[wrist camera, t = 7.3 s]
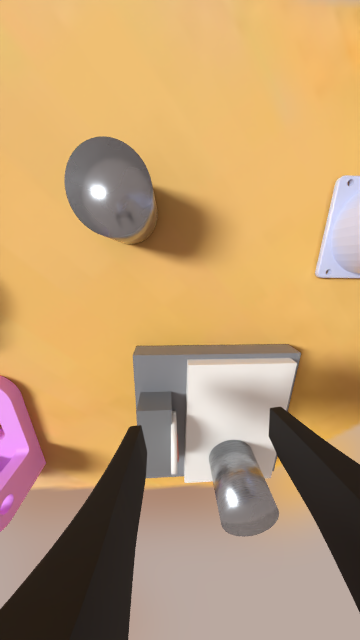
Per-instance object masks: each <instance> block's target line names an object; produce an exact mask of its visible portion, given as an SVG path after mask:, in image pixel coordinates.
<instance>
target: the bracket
mask: <svg viewBox="0 0 360 640" xmlns="http://www.w3.org/2000/svg"><path fill="white" fill-rule="evenodd" d="M0 424H1V426H2V428H3V429H1V428H0V532H1V531H2V530H3V529H4V528H5V527H6V526H7V525H8V523H9V522H10V521H11V519H12V518H13V516H14V515H15V513H16V512H17V510H18V508H19V507H20V505H21V503H22V502H23V500H24V499H25V497H26V495H27V493H28V492H29V490H30V489H31V487H32V485H33V484H34V482H35V481H36V479H37V477H38V476H39V474H40V472H41V471H42V469H43V468H44V466H45V464H46V462H45V459H44V456H43V453H42V450H41V448H40V445H39V442H38V439H37V436H36V434H35V431H34V428H33V425H32V423H31V420H30V417H29V414H28V411H27V409H26V406H25V403H24V400H23V397H22V395H21V392H20V390H19V389H18V387H17V386H16V385H15V384H14V383H13V382H11V381H10V380H8V379H7V378H5V377H3V376H0Z"/></svg>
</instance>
